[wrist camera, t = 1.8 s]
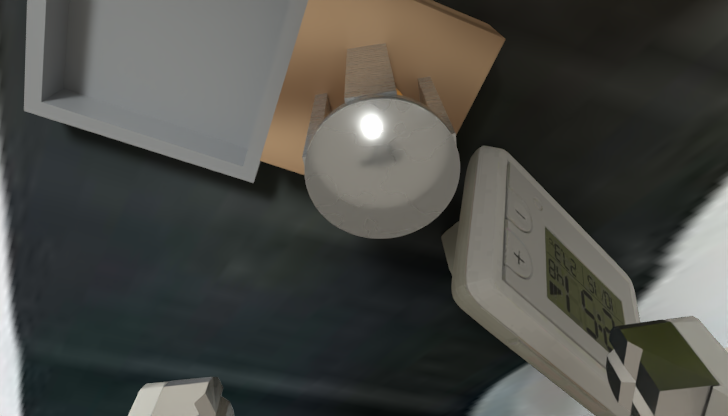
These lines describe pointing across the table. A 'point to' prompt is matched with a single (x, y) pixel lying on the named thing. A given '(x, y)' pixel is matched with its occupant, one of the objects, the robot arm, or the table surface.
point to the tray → (164, 73)
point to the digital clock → (537, 279)
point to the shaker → (380, 152)
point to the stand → (406, 54)
